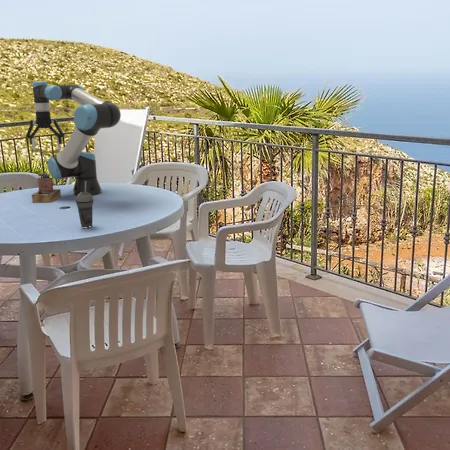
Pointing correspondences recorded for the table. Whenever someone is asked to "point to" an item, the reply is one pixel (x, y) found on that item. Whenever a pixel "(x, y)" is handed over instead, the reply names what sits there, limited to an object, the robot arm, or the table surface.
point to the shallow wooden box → (46, 196)
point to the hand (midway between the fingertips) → (46, 150)
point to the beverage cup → (85, 207)
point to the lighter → (45, 183)
